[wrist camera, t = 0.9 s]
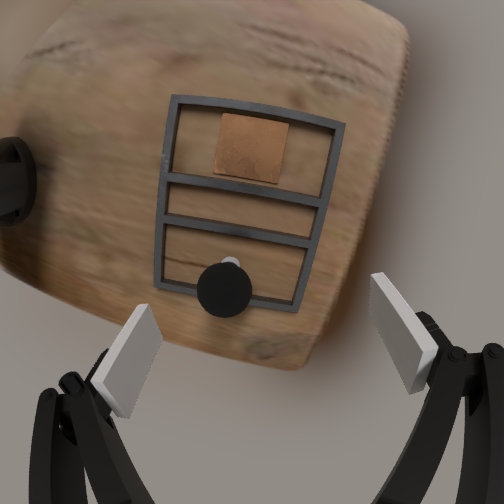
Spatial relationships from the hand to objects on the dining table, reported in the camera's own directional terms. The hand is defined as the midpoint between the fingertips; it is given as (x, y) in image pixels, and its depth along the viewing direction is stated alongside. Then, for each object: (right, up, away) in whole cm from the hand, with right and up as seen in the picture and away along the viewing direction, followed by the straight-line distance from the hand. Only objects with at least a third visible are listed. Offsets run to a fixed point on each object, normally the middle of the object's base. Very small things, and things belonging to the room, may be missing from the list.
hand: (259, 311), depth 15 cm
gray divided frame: (-2, +9, +18) cm, 20 cm away
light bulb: (-3, +2, +21) cm, 21 cm away
